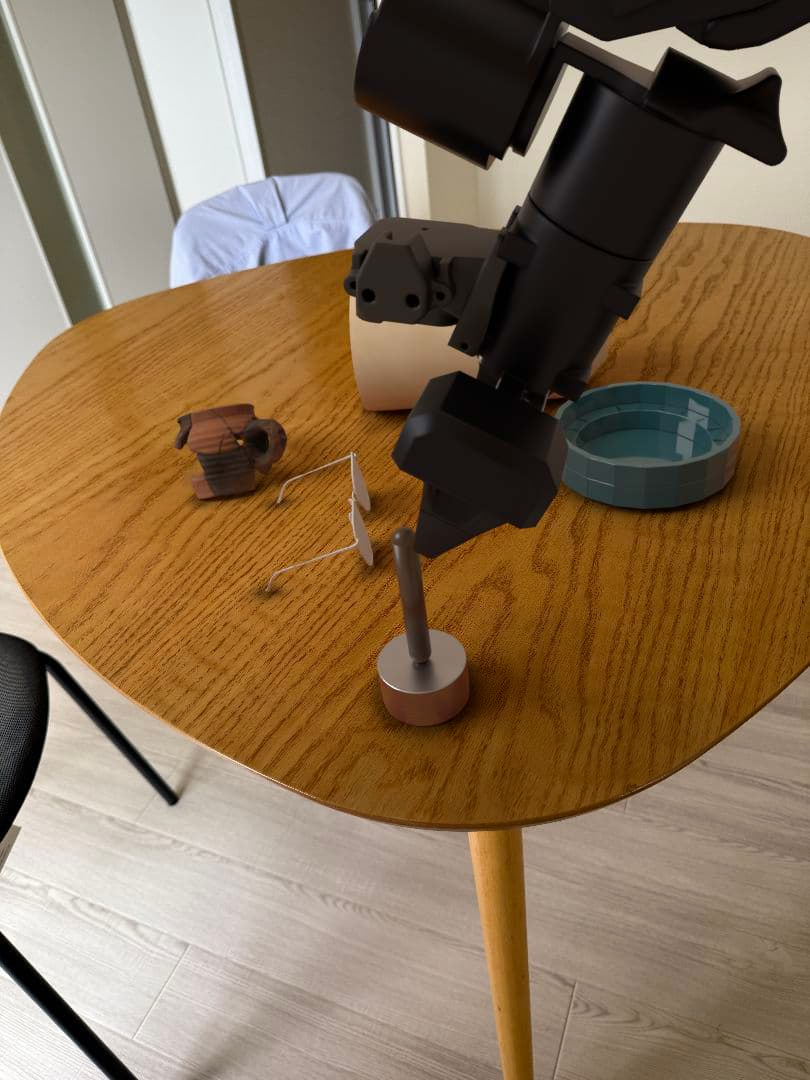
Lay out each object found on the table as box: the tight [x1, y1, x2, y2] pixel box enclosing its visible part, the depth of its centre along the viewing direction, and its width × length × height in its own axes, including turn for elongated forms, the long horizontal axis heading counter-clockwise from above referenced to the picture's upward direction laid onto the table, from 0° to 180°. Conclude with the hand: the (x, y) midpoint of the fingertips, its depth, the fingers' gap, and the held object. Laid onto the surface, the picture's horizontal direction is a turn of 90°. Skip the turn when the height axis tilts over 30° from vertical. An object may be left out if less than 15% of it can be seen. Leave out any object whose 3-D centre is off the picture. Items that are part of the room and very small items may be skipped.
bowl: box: [554, 380, 742, 510], centre depth 68 cm, size 15×15×4 cm
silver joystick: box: [376, 526, 471, 727], centre depth 46 cm, size 6×6×13 cm
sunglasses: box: [265, 451, 374, 593], centre depth 65 cm, size 14×8×5 cm, turn 4°
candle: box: [348, 295, 612, 412], centre depth 80 cm, size 14×14×25 cm
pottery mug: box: [173, 402, 288, 500], centre depth 75 cm, size 12×10×8 cm
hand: (445, 500), depth 41 cm, fingers open, 9 cm apart
